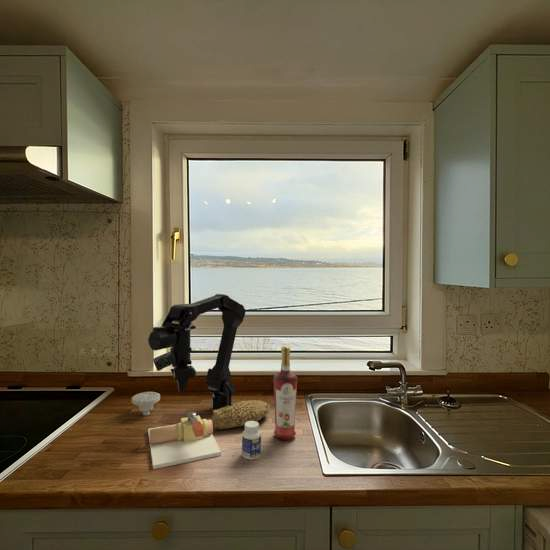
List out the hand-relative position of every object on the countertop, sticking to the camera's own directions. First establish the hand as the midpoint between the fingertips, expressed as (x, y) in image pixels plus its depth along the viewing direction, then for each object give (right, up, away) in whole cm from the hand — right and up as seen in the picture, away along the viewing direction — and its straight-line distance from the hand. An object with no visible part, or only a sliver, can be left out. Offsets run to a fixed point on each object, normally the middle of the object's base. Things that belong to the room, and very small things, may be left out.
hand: (181, 392), depth 114 cm
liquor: (+33, -13, -4) cm, 36 cm away
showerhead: (-15, -12, +11) cm, 22 cm away
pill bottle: (+24, -13, -15) cm, 31 cm away
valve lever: (+7, -6, -11) cm, 14 cm away
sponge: (+19, -12, +6) cm, 23 cm away
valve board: (+3, -12, -8) cm, 15 cm away
